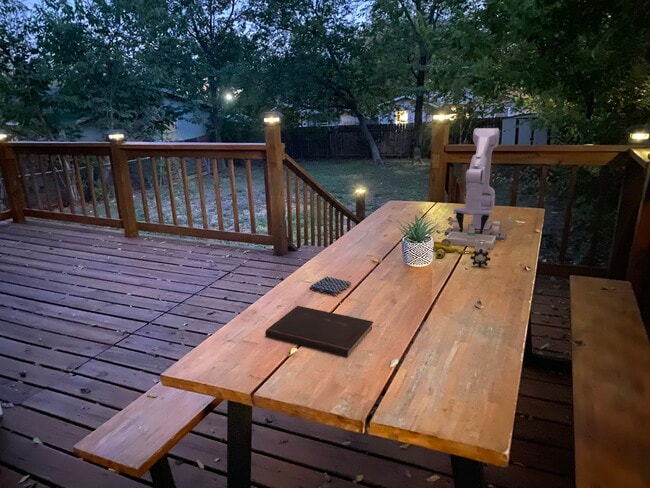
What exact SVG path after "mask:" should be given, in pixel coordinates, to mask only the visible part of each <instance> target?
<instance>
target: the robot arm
mask: <svg viewBox="0 0 650 488" xmlns="http://www.w3.org/2000/svg"><path fill="white" fill-rule="evenodd" d="M499 139H500V129H499V127H495V128H493V127H490V128H488V127H486V128H483V127H482V128H481V127H480V128H479V127H476V128H474V130H473V133H472V141H473V143H474V145H475V147H476V151H475V154H473V155H472V157H471V161H470V164H469V168H468V169H467V170H466V172H465V188H466V194H465V195H466V196H465V207H463V208H457V207H454V208H453V214H455V217H456V219H457V221H458V223H459V229H460V232H462V231H463V229H464V218H465V215H467V216H468V215H470V216H472V223H471V224H475V225H476V227H475V230H477V229H478V230H479V231H480V234H482V233H483V231H484V230H486V231H489V229H490V228H491V227H492V223H490V218H492V217H493V210H491V209H492V208H493V207H495V201H496V192H495V189H494V188H493V187H491V186H490V177H491V164H492V153H493V151H494V149H495V148H497V147H498V145H499V141H500V140H499Z"/></svg>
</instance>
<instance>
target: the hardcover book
mask: <svg viewBox="0 0 650 488" xmlns="http://www.w3.org/2000/svg"><path fill="white" fill-rule="evenodd" d="M373 324H374V321H372V320H368V319H363V318H358V317H354V316H348V315H344V314H339V313H334V312H331V311H330V312H329V311H326V310H320V309H315V308H311V307H306V306H303V305H296V306H295V307H294V308H293V309H291V310H290V311H288V312H287V313H286V314H285V315H283V316H282V317H281V318H279V319H278V320H277V321H275V322H274V323H273V324H272V325H270V326H269V327H268V328H266V330H265V333H264V334H265V338H270V339H273V340H278V341H281V342H285V343H290V344H292V345H293V344H294V345H297V346H302V347H306V348H308V349H313V350H317V351H321V352H324V353H329V354H332V355H336V356H339V357H345V358H348V357H349V355H350V354H351V352H352V351H353V350H354V349H355V348H356V347H357V345H358V344H359V343H360V342H361V341H362V340H363V339H364V338H365V337H366V335H367V334H368V333H369V332H370V330H372V329H373V326H372V325H373Z"/></svg>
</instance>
